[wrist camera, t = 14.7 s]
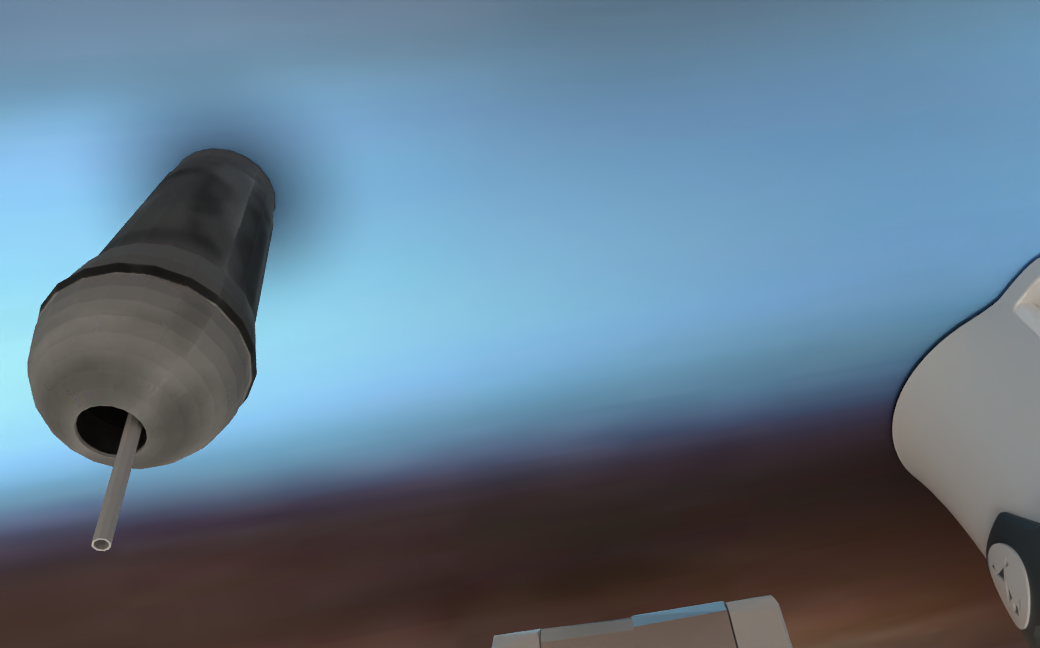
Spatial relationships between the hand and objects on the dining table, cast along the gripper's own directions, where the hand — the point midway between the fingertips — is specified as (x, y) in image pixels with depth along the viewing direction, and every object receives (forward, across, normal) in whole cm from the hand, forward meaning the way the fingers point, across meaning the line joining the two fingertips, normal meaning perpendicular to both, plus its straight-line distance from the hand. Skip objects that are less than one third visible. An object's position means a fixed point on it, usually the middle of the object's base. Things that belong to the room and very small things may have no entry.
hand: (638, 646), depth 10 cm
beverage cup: (+31, -15, -8) cm, 36 cm away
